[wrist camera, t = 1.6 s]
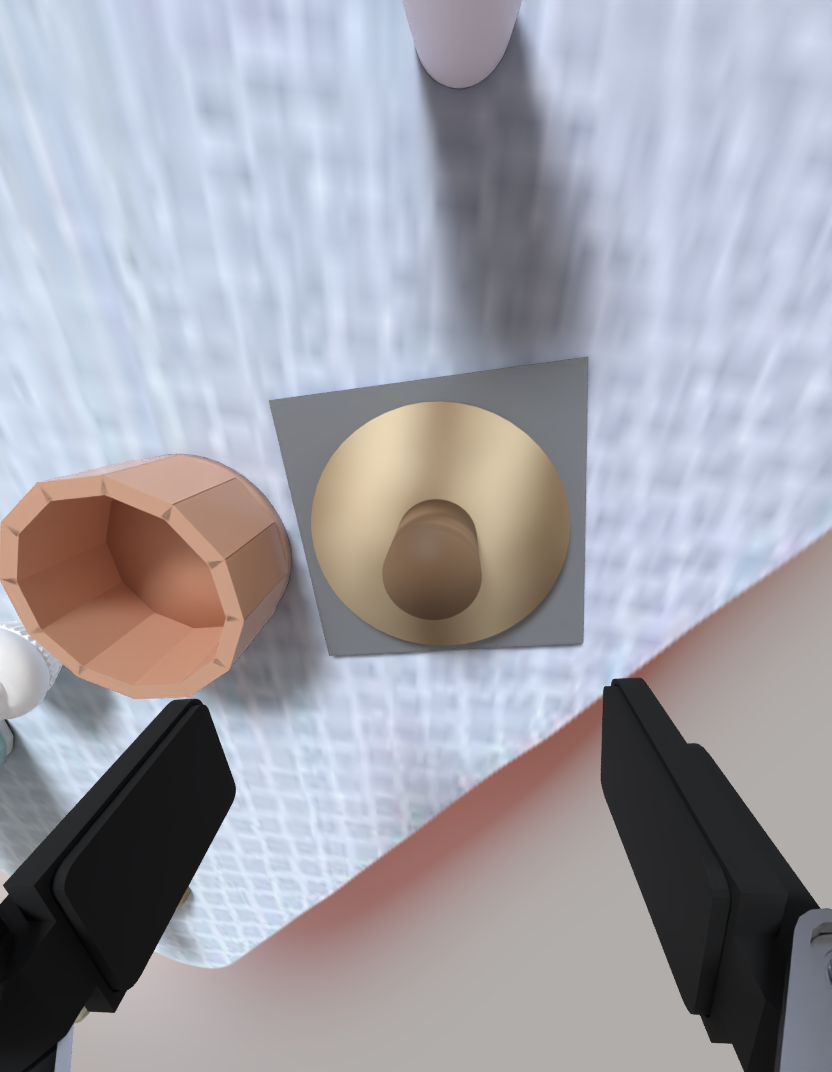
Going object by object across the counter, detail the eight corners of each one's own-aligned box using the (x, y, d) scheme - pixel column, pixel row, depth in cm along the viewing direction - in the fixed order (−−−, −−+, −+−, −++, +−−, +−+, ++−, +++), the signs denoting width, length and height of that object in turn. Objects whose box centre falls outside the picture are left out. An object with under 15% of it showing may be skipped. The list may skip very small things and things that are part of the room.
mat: (584, 357, 18) (588, 356, 18) (580, 637, 23) (583, 643, 23) (272, 400, 20) (268, 400, 20) (331, 650, 25) (329, 655, 25)
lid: (564, 383, 18) (606, 383, 13) (565, 628, 23) (596, 700, 18) (292, 419, 20) (236, 431, 15) (342, 640, 24) (311, 709, 19)
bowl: (264, 442, 21) (195, 463, 16) (309, 624, 25) (267, 694, 19) (78, 465, 23) (-47, 492, 17) (147, 634, 26) (63, 701, 21)
